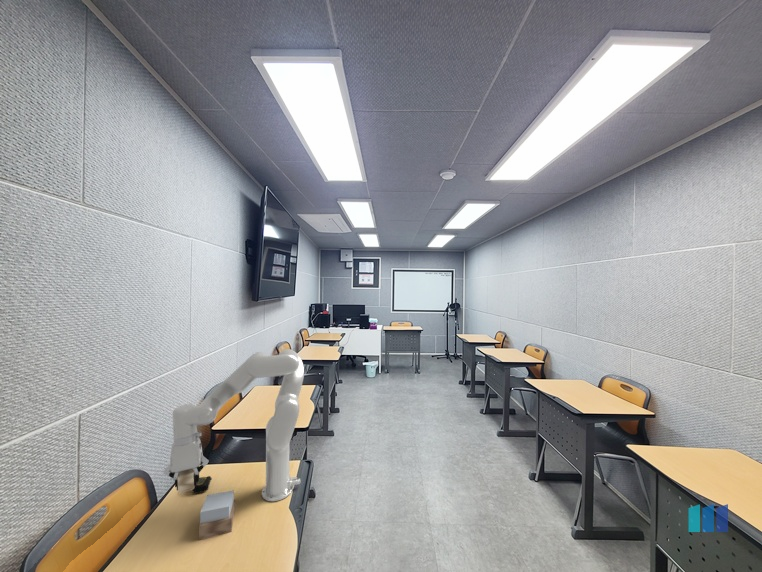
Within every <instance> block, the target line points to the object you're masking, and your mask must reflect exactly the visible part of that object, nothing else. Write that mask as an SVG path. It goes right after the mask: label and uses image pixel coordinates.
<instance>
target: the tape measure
mask: <svg viewBox="0 0 762 572" xmlns="http://www.w3.org/2000/svg"><path fill="white" fill-rule="evenodd" d="M212 479H213V478H212V476H210V475H208V476H202V477H201V476H200V477H199V482H197V485H196V486H195V487H194V489H193V490H191V491H192V493H195V494H199V493H202V492H206V491H208V489H209V485H210V484H211V481H212Z"/></svg>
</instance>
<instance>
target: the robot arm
mask: <svg viewBox="0 0 762 572" xmlns="http://www.w3.org/2000/svg"><path fill="white" fill-rule="evenodd" d="M281 376H283V379H282V381H281V386H280V388H279V390H278V394H277V397H276V399H275V402H274V414H273V416H272V417H270V418H269V420H268V421H267V423H266V427H265V441H266V442H265V485H264V486H263V488H262V490H261V496H262V499H264V500H265V501H267V502H277V501H281V500H283V499H285V498H287V497H289V496H290V495H291V494H292V492H293V490H294V486H296V485H301V478H298V476H294V477H291V474H290V451H291V450H290V447H291V446H290V445H291V444H290V442H291V440H292V437H293V433H294V431H295V428H296V424H297V421H298V420H299V419H298V418H299V415H300V404H299V398H300V397H299V396H300V393H301V390H302V386H303V382H304V377H305V368H304V362H303V360H302V358H301V357H300V355H299V354H298V353H297V352H296V351H294V350H293V349H291V348H290V349H289V348H285V349H283V350H281V351H280V352H278V354H277V355H267V354H266V353H264V352H262V351H259V352H255V353H253V354H252V355H251V356H249V357H248V358H247V359H246V360H245V361H244V362H243V363H242V364H241V365H239V367H238V368H237V369H235V371H233V373H231V374H230V375H229V376H227V378H226V379H224V381H223V382H221V383H220V384H219V385H218V386H217V387H216V388H214V389H213V390H212V391H211V393H209V394H208V395H207V396H206V397H205V398H204V399H203V400H201V403H200V404H199V405H198V406H197V407H196V406H195V404H192V403H190V404H189V403H188V404H183V405H179V406H177V407H176V408H175V409H174V410H173V412H172V431H173V435H172V436H173V443H172V445H171V448H170V450H171V451H170V456H169V457H170V458H169V464H168V465H167V467H165V469H164V471H163V474H164V475H166V476H169V477H170V478H171V479H173V481H174V488H176V491H178V478H177V477H178V475H179V473H180V471H184V470H188V469H192V468H193V470H194V473H195V474H194V486H196V485H197V482H199V478H200V473H201V471H202V470H203V469H204V468H205V467H206V466H207V465H208V463H209V461H210V460H209V459H207V458H206V457H205V456H204V455H203V447H202V442H201V438H200V437H202V432H198V429H197V428H198V426H206V425H210V424H211V423H213V422H214V421H215V420H216V418H217V415H218V413H219V410H221V408H222V407H223V406H224V405H226V403H227V402H228V401H230V399H231V398H233V397H234V396H236V395H238V394H241V393H243V392H245V390H247V388H249V387H250V386H251V385H252V383H253V382H255V381H256V380H257V379H259V378H260V379H261V378H262V379H263V378H272V377H281Z"/></svg>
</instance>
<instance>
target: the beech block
mask: <svg viewBox="0 0 762 572" xmlns="http://www.w3.org/2000/svg"><path fill="white" fill-rule="evenodd" d="M194 474H195V473H194V470H193V468H192V469H188V470H184V471H180V473H179V475H178V477H177V478H178V490H177V494H182V493H185V492H189V491H192V490H193V489H194V487H195V486H194Z"/></svg>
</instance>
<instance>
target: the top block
mask: <svg viewBox="0 0 762 572" xmlns="http://www.w3.org/2000/svg"><path fill="white" fill-rule="evenodd" d="M234 492H235V490H233V489H232V490H227V491H220V492H216V493H211V494H207V495H206V498H205V500H204V502H203V505H202V507H201V510H200V513H199V514H200V516H199V518H200V519H199V520H200V522H199V525H200V524H202V523H207V522H212V521H216V520H221V519H226V518H229V516H230V512H231V509H232V505H233V501H234V500H235V498H234V497H235V496H234V495H235V493H234Z"/></svg>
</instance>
